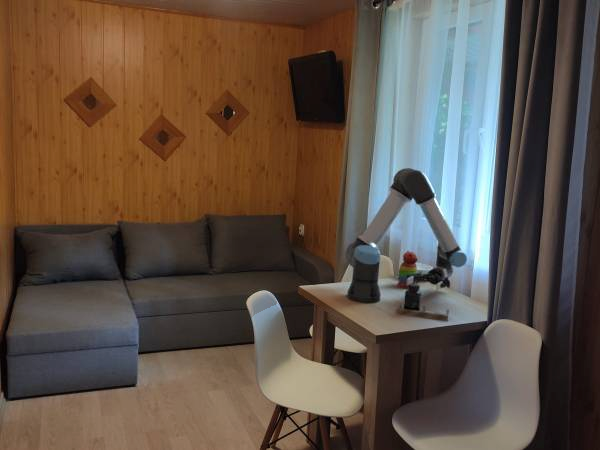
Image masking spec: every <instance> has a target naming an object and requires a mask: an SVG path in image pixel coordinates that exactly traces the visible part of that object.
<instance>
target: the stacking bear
mask: <svg viewBox="0 0 600 450" xmlns="http://www.w3.org/2000/svg"><path fill="white" fill-rule="evenodd" d="M402 258H403V262H402V263H401V264H400V266H399V269H398V276H397V277H398V282H397V286H398V287H399V288H402V289H406V290H408V285H407V280H406V279H407V275H409V274H417V267H416V264H415V263H418V260H419V257H417V255H416V253H415V252H413V251H410V250H407V251H406V252H404V254H403V255H402ZM413 284H417V281H413Z"/></svg>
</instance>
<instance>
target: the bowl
mask: <svg viewBox="0 0 600 450" xmlns="http://www.w3.org/2000/svg"><path fill="white" fill-rule="evenodd" d="M415 264H416V267H417V273H422V275H423V274H427V273H428V272H429V271H430V270H431V269H433V268H434V267H433V266H431V265H429V264H424V263H419V262H416V263H415Z"/></svg>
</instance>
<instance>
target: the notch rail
mask: <svg viewBox="0 0 600 450" xmlns="http://www.w3.org/2000/svg"><path fill="white" fill-rule="evenodd" d="M396 313H397V315H398V314H399V315H405V316H413V317H419V318H427V319H435V320H439V321H440V320H442V321H449V314H450V309H446V311H445V312H438V311H431V310H426V306H424V305H423V306H422V308H421V310H419V311H416V310H409V309H403V303H402V302H400V303H398V307H397V312H396Z"/></svg>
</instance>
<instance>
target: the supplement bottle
mask: <svg viewBox="0 0 600 450" xmlns="http://www.w3.org/2000/svg"><path fill="white" fill-rule="evenodd" d="M420 286H421V285H420V284H418V283H416V284H413V283H411V284H409V285H408V289H406V291H405V293H404V299H403V300H404V301H403V307H402V309H409V310H416V311H421V310H420V308H421V301H422V292H421V291H420V290H421V289H420V288H421V287H420Z"/></svg>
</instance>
